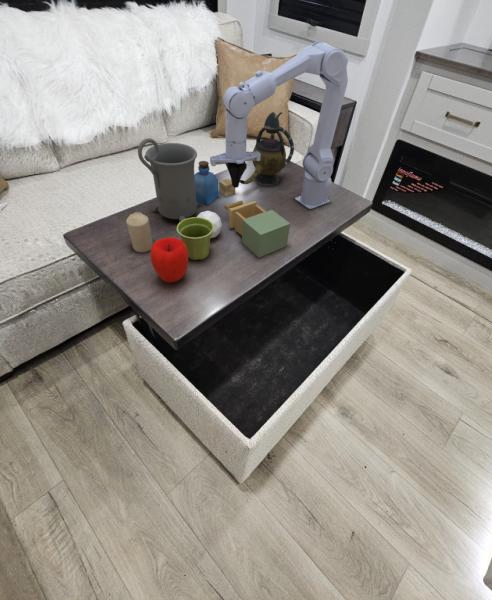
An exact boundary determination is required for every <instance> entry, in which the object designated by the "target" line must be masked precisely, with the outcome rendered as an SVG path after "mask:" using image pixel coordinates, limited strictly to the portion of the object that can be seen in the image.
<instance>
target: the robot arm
mask: <svg viewBox="0 0 492 600" xmlns="http://www.w3.org/2000/svg"><path fill="white" fill-rule="evenodd" d="M348 62H349V58H348V57H347V55H346V54H345V52H344V51H343V49H341V48H339V47H335V46H333V45H331V44H328V43H326V42H324V41H322V40H317V41H315V42H313V43H312V44H309V45H307V46H305V47H304V48H303V49H302V51H300V52H299V53H297V54H296V55H294V56H293V57H292V58H290V59H289V60H287V61H286V62H284V63H283V64H282V65H280V66H279V67H277V68H276V69H274V70H273V71H271V72H269V71H267V70H262V71H261V70H257V71H255V72H254V74H255V75H254V76H252V77H251V78H248V79H247V80H245V81H244V82H243V81H241V82H238V86H230V87H228V88H227V89H226V90H225V93H224V94H223V97H222V98H221V102H222V105H223V107H224V108H225V152H223V153H220V154H216V155H211V156H209V164H210V166H211V167H216V166H217V165H225V166H226V168H227V171H228V174H229V177H230V180H231V181H232V185H233V187H234V188H235V189H236V188H239V186H240V184H241V183H240V180H242V177H243V175H244V173H245V171H246V170H247V168H248V165H247V163H246V162H252V161H253V160H256V161H260V157H261V154H260V153H259V152H253V151H248V150H247V141H248V139H247V138H248V136H247V135H248V116H249V115H250V113H251V111H252V109H253V108H254V107H256V106H257V105H259V104H260V103H262V102H264V101H266V100H267V99H269V98H271V97H272V96H274V95H275V93H276V90H277V88H278V87H280V86H282V85H283V84H285V83H287V82H289V81H291V80H293V79H295V78H297V77H299V76H301V75H302V74H305V73H307V74H311V75H314V76H315V75H316V76H319V77H320V79H321V81H322V82H323V84H324V85H325V90H324V94H323V98H322V102H321V107H320V111H319V116H318V121H317V125H316V130H315V134H314V138H313V143H312V144H311V145H309V146H308V147H307V151H306V153H305V155H304V157H303V159H302V168H303V169H304V171H303V173H304V175H303V180H302V181H303V182H302V187H301V193H300V195H299V196H296V197H295V198H294V200H295V201H297V202H298V203H299V204H301V205H303V206H304V207H305V208H307V209H308V210H313V209H316V208H319V207H321V206H323V205H327V204H329V203H330V200H329V198H330V193H331V188H332V183H333V182H332V178H331V176H332V175H333V172H334V165H333V163H334V155H333V151H332V145H333V140H334V136H335V133H336V129H337V126H338V121H339V117H340V114H341V110H342V105H343V102H344V98H345V94H346V90H347V88H348V87H347V86H348V82H349V78H348V69H347V67H348Z"/></svg>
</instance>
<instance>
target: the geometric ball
mask: <svg viewBox="0 0 492 600" xmlns="http://www.w3.org/2000/svg"><path fill="white" fill-rule="evenodd" d="M196 217H200V218H205V219H207V220H209V221H211V222H212V224H213V226H214V230H213V232H212V234H211V238H210V239H213V238H216V237H218V235H219V234H220V233H221V230H222V227H223V223H222V219H221V217H220V216H219V215H218V214H217V213H216V212H213V211H211V210H204V211H201V212H199V213H198V215H196Z"/></svg>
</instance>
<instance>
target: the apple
mask: <svg viewBox="0 0 492 600" xmlns="http://www.w3.org/2000/svg"><path fill="white" fill-rule="evenodd" d="M149 255H150V262H151V265H152V267H153V269H154V271H155V272H156V274H157V275H158V276H159V278H160V279H161V280H162V281H163V282H166V283H175V282H178V281H180V280H181V279H182V278H183V277H184V276H185V274H186V271H187V269H188V265H189V257H188V251H187V248H186V245H185V243H184V242H183V241H182V239H180V238H177V237H172V236H171V237H164V238H161V239H158V240H156V241H153V245H152V248H151V250H150V254H149Z"/></svg>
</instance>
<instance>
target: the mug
mask: <svg viewBox="0 0 492 600" xmlns="http://www.w3.org/2000/svg"><path fill="white" fill-rule="evenodd" d="M148 143H149V144H152V145H153V146H151V147H149V148H147V150H146V151H145V155H144V156H143V148H144V147H145V145H146V144H148ZM137 156H138V159H139V161H140V162H141V163H142V164H143V165H144V166H145V167H146V168H147V169H148V171H150V173H151V174H152V177H153V184H154V189H155V195H156V201H157V202H156V203H155V205H154V207H153V209H152V210H151V211H152V213H156V212H157V211H158V213H159V214H160V215H161V216H162V217H165V218H167V219H170V220H178V221H179V223H180V222H181V221H182V220H184V219H187V218H191V217H193V215H194V214H195V213H196V212H197V210H198V206H199V202H198V201H196V190H195V161H196V159H197V157H198V152H197V150H196V149H195V148H194V147H192V146H190V145H188V144H184V143H178V142H165V143H158V142H157V141H156V140H155V139H153V138H151V137H148V138H144V139H143V140H142V141H141V142H140V143H139V145H138V147H137Z"/></svg>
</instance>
